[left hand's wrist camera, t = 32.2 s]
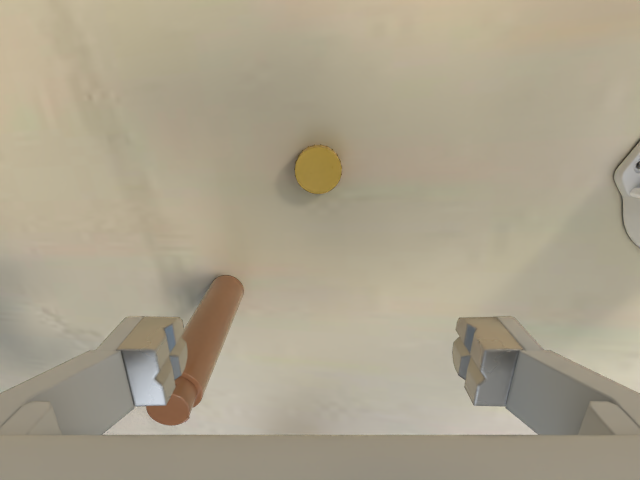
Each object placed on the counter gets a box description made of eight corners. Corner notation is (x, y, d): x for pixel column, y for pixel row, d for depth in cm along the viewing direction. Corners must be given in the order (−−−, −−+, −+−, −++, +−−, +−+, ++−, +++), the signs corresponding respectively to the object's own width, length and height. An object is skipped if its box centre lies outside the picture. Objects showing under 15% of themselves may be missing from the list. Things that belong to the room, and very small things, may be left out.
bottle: (203, 290, 44) (129, 410, 27) (224, 268, 42) (161, 379, 25) (229, 310, 45) (173, 437, 28) (250, 289, 43) (206, 409, 26)
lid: (345, 148, 37) (346, 151, 36) (336, 193, 39) (337, 198, 37) (299, 140, 37) (298, 142, 35) (292, 186, 39) (290, 190, 37)
